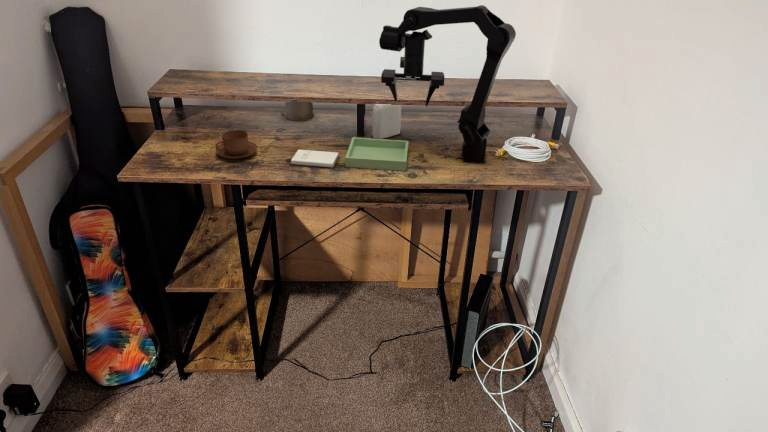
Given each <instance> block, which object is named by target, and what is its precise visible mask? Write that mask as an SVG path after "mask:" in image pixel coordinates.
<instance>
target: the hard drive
mask: <svg viewBox="0 0 768 432" xmlns="http://www.w3.org/2000/svg"><path fill="white" fill-rule="evenodd" d="M339 157H340V152H336V151H325V150H324V151H323V150H310V149H297V151H296V152H295V154H294V155H293V156H292V158H291V160H290V163H291V165H298V166H308V167H321V168H332V169H333V168H334V167H335V165H336V163H337V162H338V160H339Z"/></svg>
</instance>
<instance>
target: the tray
mask: <svg viewBox="0 0 768 432" xmlns="http://www.w3.org/2000/svg"><path fill="white" fill-rule="evenodd" d="M408 152H409V140H402V139H401V140H400V139H387V138H383V139H374V138H368V137H354V136H353V137H351V141H350V143H349V146H348V148H347V151H346V154H345V157H344V167H345V168H359V169H372V170H374V169H375V170H386V171H387V170H388V171H403V172H404V171H405V172H406V171H407V163H408Z"/></svg>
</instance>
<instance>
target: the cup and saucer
mask: <svg viewBox="0 0 768 432" xmlns="http://www.w3.org/2000/svg"><path fill="white" fill-rule="evenodd" d="M257 151H258V145H257V144H256V143H255V142H252V141H250V140H249V134H248V132H246V131H245V130H240V129H239V130H238V129H235V130H234V129H233V130H228V131H225V132H224V133H222V134H221V140H219V141H217V142H216V143H215V153H216V155H218V156H220V157H221V158H224V159H228V160H241V159H245V158H249V157H251V156H252V155H254V154H255V153H256V152H257Z"/></svg>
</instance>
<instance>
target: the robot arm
mask: <svg viewBox="0 0 768 432" xmlns="http://www.w3.org/2000/svg"><path fill="white" fill-rule="evenodd" d="M468 23H474V24H475V25H476V26H477V28H478V29H479V31H480V32H481V33H482V35H483V36H484V37H485V38H486V39H487V42H486V58H485V61H484V64H483V67H482V69H481V73H480V75H479V78H478V82H477V85H476V87H475V90H474V93H473V97H472V99H471V102H470V104H469V103H468V104H467V105H465V107H464V108H462V109H461V111H460V117H459V119H458V120H457V122H456V123H457V124H458V130H459V132H460V133H461V135H462V139H463V141H462V145H461V158H462V160H463V161H462V162H465V163H478V164H479V163H481V164H485V163H486V151H487V145H488V141H487V137H489V135H490V133H491V130H490V128H489V127H488V125H487V124H486V123H485V118H486V106H487V102H488V100H489V98H490V97H489V96H490V94H491V91H492V89H493V86H494V83H495V80H496V77H497V74H498V71H499V69H500V67H501V63H502V61H503V59H504V57H505V56H506V54H507V53H508V51H509V49H510V48H511V46H512V44H513V42H514V41H515V39H516V35H517V32H516V30H515V28H514V26H513V25H512V24H509V23H507V22H505V21H504V20H503V19H501V17H499V16H497V15H496V14H495V13H494V12H492V11H491V10H490V9H489V8H488V7H487V6H486V5H482V4H481V5H477V6H467V7H466V6H465V7H453V8H444V9H443V8H442V9H438V8H432V7H425V6H417V7H414V8H411V9H408V10H406V11H405V13H404V14H403V20H402V21H401V23H400V24H399V26H391V25H387V24H386V25H383V27H382V31H381V33H380V36H379V40H378V43H379V47H380V49H381V50H385V51H393V52H397V53H398V52H399V53H400V52H401V51H402V50H404V55H403V56H400V59H399V62H400V63H399V68H401V69H403V73H400V72H399V73H398V72H396V71H397V70H396V69H391V68H390V69H387V68H384V69H383V70H382V72H381V75H380V83H381V84H385V87H388V89H389V90H390V92H391V94H392V97H393V98H394V100H395V101H397V99H398V88H397V81H415V82H429V83H428V89H427V94H426V99H425V107H428V105H429V103H430V101H431V98H432V96H433V94H434V93H435V91H436V89H437V90H438V89H440V87H443V86H445V73H444V72H443V71H431V73H430V74H424V61H425V60H424V59H425V48H426V47H425V46H426V41H428V40H431V39H432V38H433V35H432V34H431V33H430V32H429V31H428V29H426V28H430V27H432V26H440V25H453V24H468ZM422 29H424V30H423V31H419V30H422ZM408 32H411V33H408ZM396 105H397V104H396Z"/></svg>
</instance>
